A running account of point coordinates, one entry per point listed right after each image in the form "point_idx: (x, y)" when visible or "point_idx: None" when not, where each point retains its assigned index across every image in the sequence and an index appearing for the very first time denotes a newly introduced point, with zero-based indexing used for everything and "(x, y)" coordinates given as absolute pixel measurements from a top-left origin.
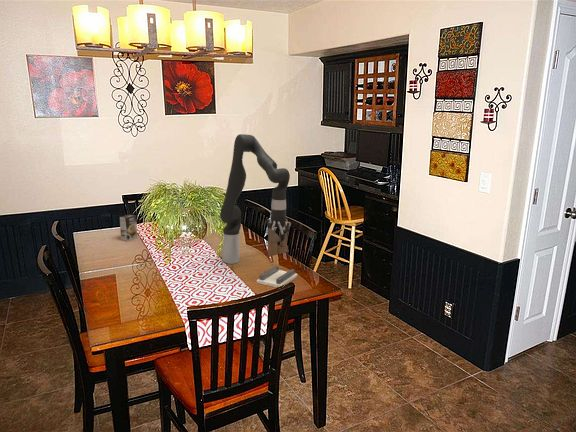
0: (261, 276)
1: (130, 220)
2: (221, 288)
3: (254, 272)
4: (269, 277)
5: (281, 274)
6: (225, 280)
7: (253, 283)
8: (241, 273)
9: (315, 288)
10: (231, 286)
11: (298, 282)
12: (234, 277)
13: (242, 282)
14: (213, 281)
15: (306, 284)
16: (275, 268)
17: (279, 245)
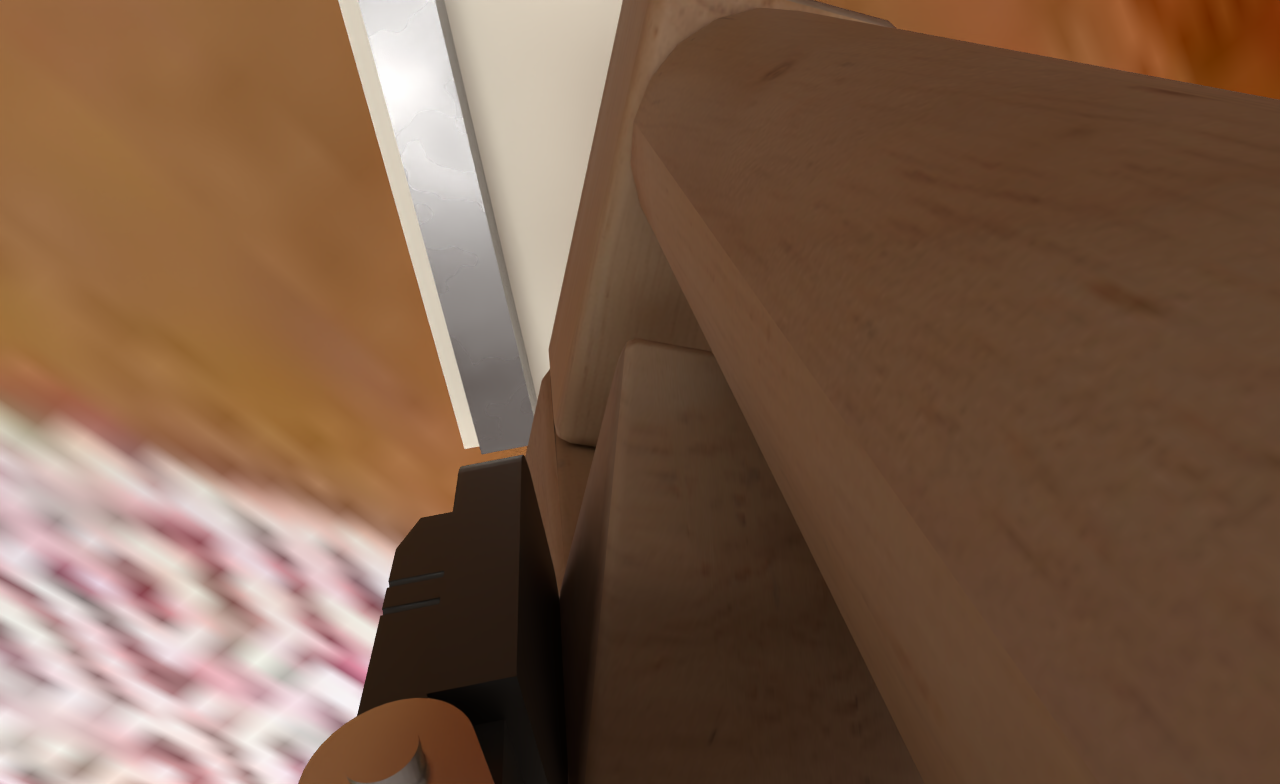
0: (517, 442)
1: None
2: (304, 764)
3: (101, 152)
4: (529, 261)
5: (588, 16)
6: (118, 620)
7: (451, 467)
8: (9, 325)
9: (1235, 47)
10: (334, 677)
11: (929, 19)
12: (96, 491)
13: (323, 532)
14: (55, 718)
15: (1068, 4)
16: (439, 19)
17: (643, 234)
